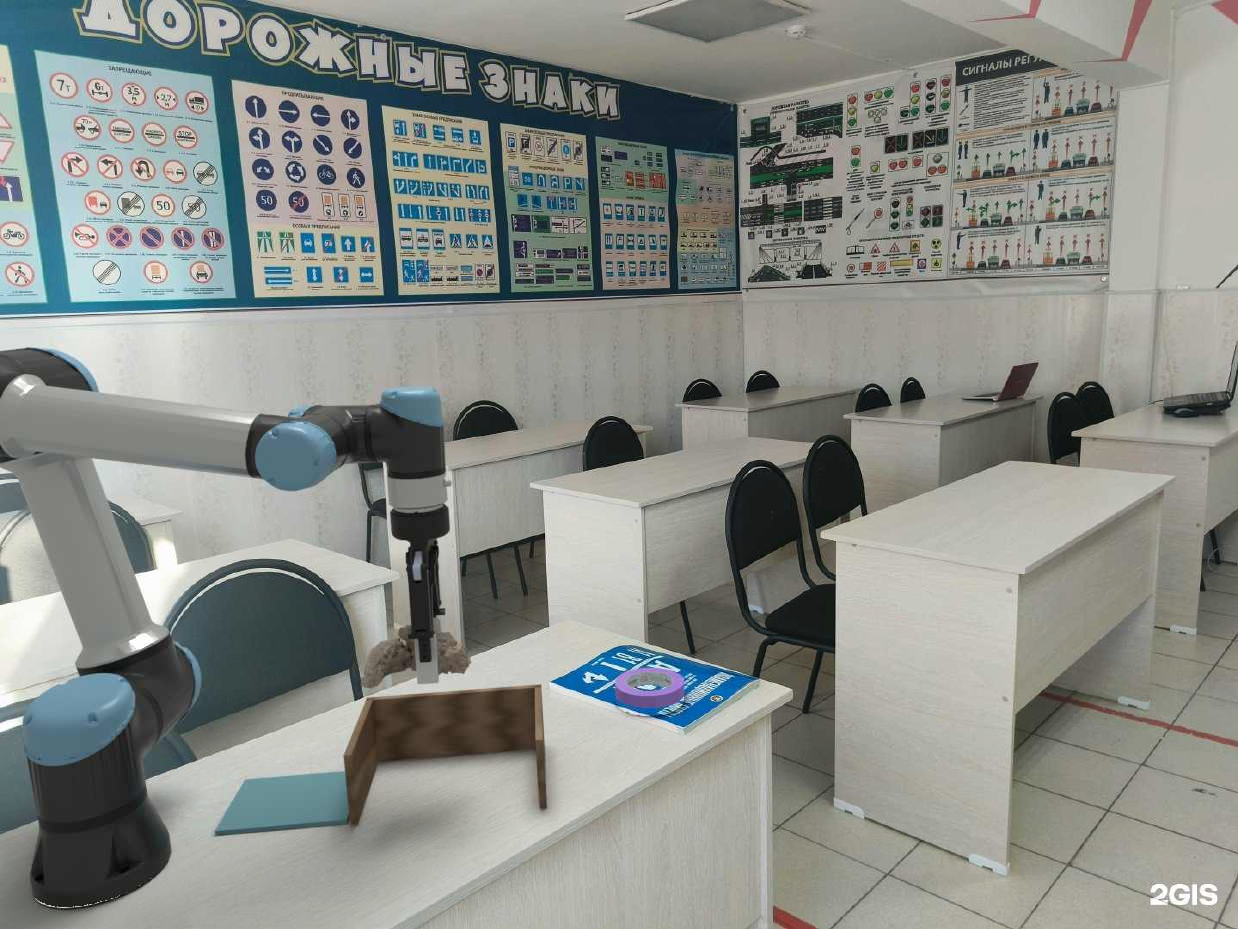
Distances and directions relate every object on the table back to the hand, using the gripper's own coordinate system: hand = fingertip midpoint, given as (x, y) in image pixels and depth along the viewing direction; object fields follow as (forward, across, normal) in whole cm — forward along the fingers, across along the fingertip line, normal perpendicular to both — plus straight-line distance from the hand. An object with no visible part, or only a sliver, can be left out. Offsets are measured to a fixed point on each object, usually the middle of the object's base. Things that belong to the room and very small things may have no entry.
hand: (430, 672), depth 122 cm
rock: (+1, -1, +2) cm, 2 cm away
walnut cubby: (+18, +4, -2) cm, 19 cm away
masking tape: (+19, +25, -33) cm, 45 cm away
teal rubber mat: (+19, +2, +20) cm, 28 cm away
